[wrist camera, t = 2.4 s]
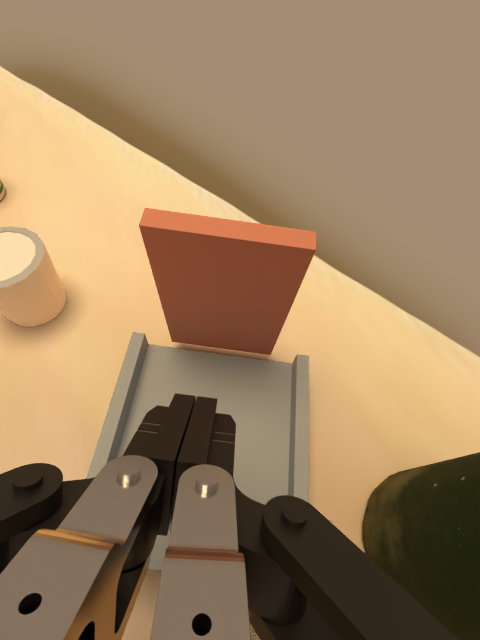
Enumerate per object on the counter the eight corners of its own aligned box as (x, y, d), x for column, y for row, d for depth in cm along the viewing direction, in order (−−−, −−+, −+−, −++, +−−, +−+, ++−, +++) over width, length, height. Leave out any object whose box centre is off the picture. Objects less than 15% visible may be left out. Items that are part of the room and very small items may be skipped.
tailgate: (270, 354, 30) (315, 249, 17) (172, 341, 30) (139, 225, 17) (271, 336, 31) (316, 223, 18) (176, 323, 31) (147, 199, 18)
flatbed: (293, 568, 24) (334, 592, 16) (85, 541, 24) (26, 553, 16) (297, 373, 32) (326, 326, 24) (141, 352, 31) (119, 298, 24)
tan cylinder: (87, 299, 34) (61, 253, 28) (26, 346, 31) (-17, 304, 25) (45, 264, 36) (11, 213, 30) (-17, 305, 33) (-67, 257, 27)
